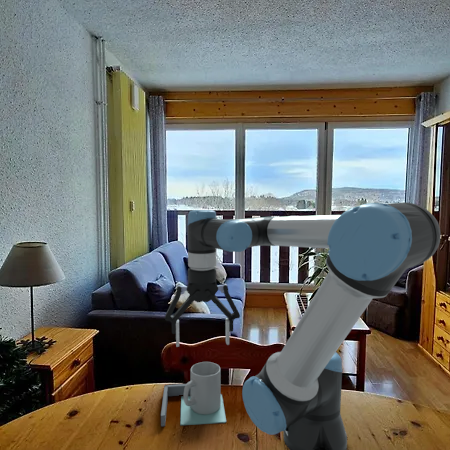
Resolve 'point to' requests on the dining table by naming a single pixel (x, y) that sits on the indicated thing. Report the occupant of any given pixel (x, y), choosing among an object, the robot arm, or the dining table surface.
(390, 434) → the dining table surface
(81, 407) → the dining table surface
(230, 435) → the dining table surface
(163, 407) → the gray corner wall
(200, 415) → the mat
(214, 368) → the mug
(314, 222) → the robot arm
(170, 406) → the dining table surface
